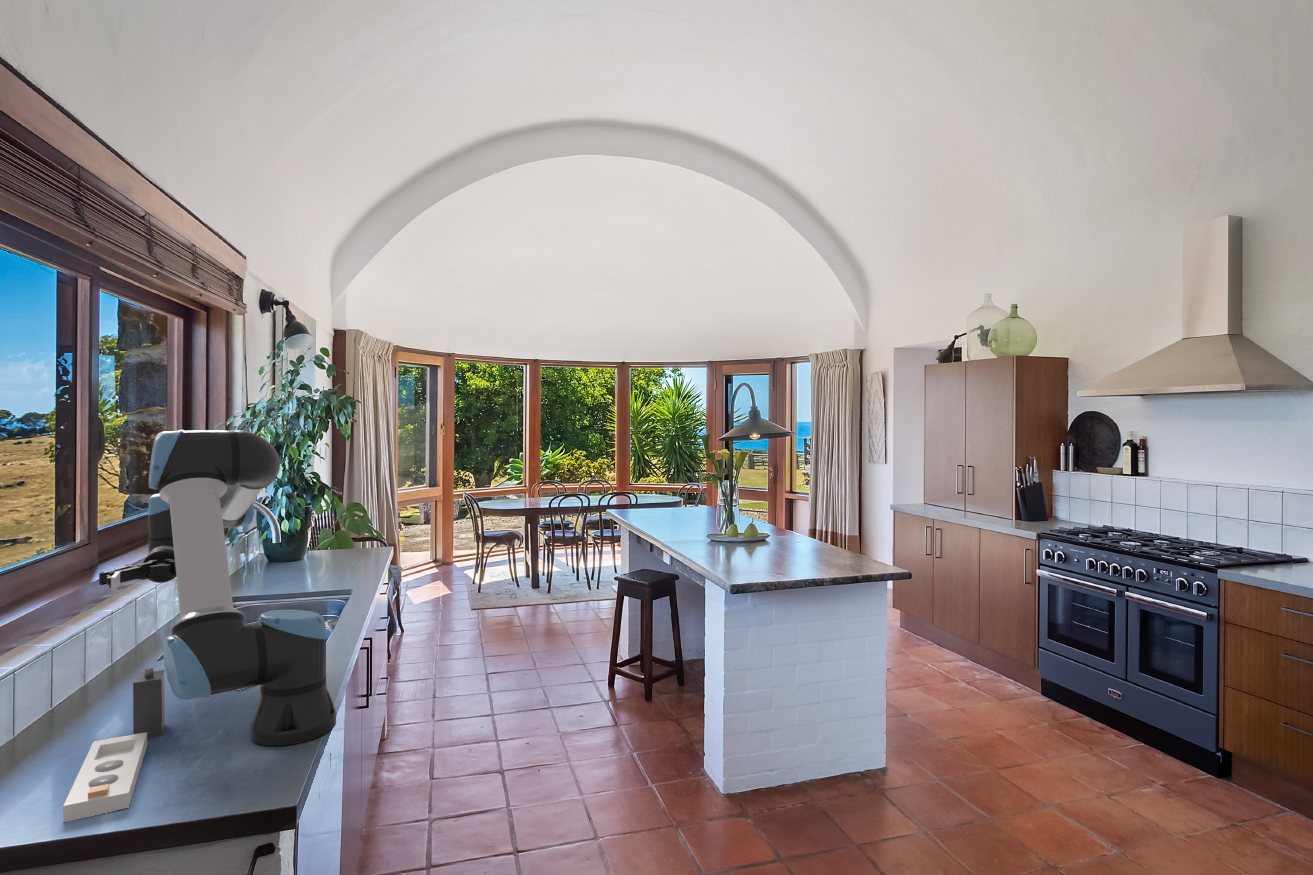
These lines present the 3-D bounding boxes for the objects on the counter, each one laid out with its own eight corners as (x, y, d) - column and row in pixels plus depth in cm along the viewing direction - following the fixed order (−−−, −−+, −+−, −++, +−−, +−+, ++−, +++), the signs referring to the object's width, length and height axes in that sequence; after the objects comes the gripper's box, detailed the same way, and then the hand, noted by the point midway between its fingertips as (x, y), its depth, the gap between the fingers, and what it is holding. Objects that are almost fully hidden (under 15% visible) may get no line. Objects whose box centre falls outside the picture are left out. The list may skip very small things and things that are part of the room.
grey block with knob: (137, 729, 143) (136, 666, 143) (164, 724, 145) (164, 662, 145) (133, 740, 137) (132, 675, 137) (162, 735, 140) (161, 671, 140)
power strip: (93, 754, 131) (93, 736, 131) (147, 745, 135) (147, 727, 135) (63, 822, 109) (63, 800, 109) (128, 808, 113) (128, 787, 113)
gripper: (226, 574, 174) (224, 591, 156) (96, 585, 162) (77, 605, 143) (225, 543, 174) (224, 556, 156) (96, 552, 161) (77, 568, 143)
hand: (154, 580), depth 149 cm, fingers open, 13 cm apart
